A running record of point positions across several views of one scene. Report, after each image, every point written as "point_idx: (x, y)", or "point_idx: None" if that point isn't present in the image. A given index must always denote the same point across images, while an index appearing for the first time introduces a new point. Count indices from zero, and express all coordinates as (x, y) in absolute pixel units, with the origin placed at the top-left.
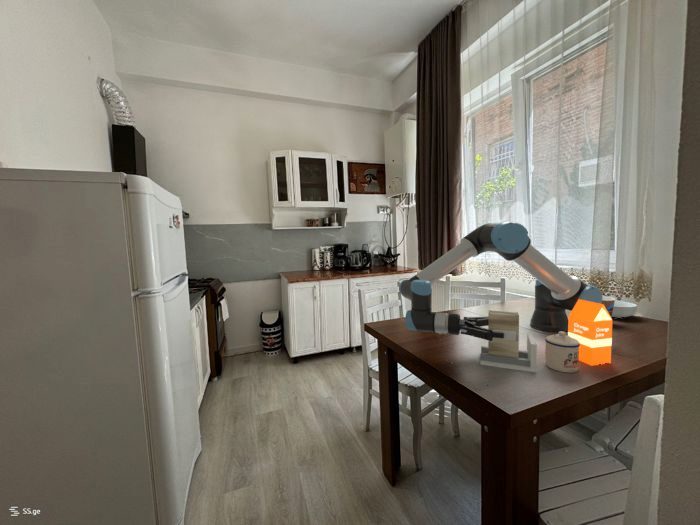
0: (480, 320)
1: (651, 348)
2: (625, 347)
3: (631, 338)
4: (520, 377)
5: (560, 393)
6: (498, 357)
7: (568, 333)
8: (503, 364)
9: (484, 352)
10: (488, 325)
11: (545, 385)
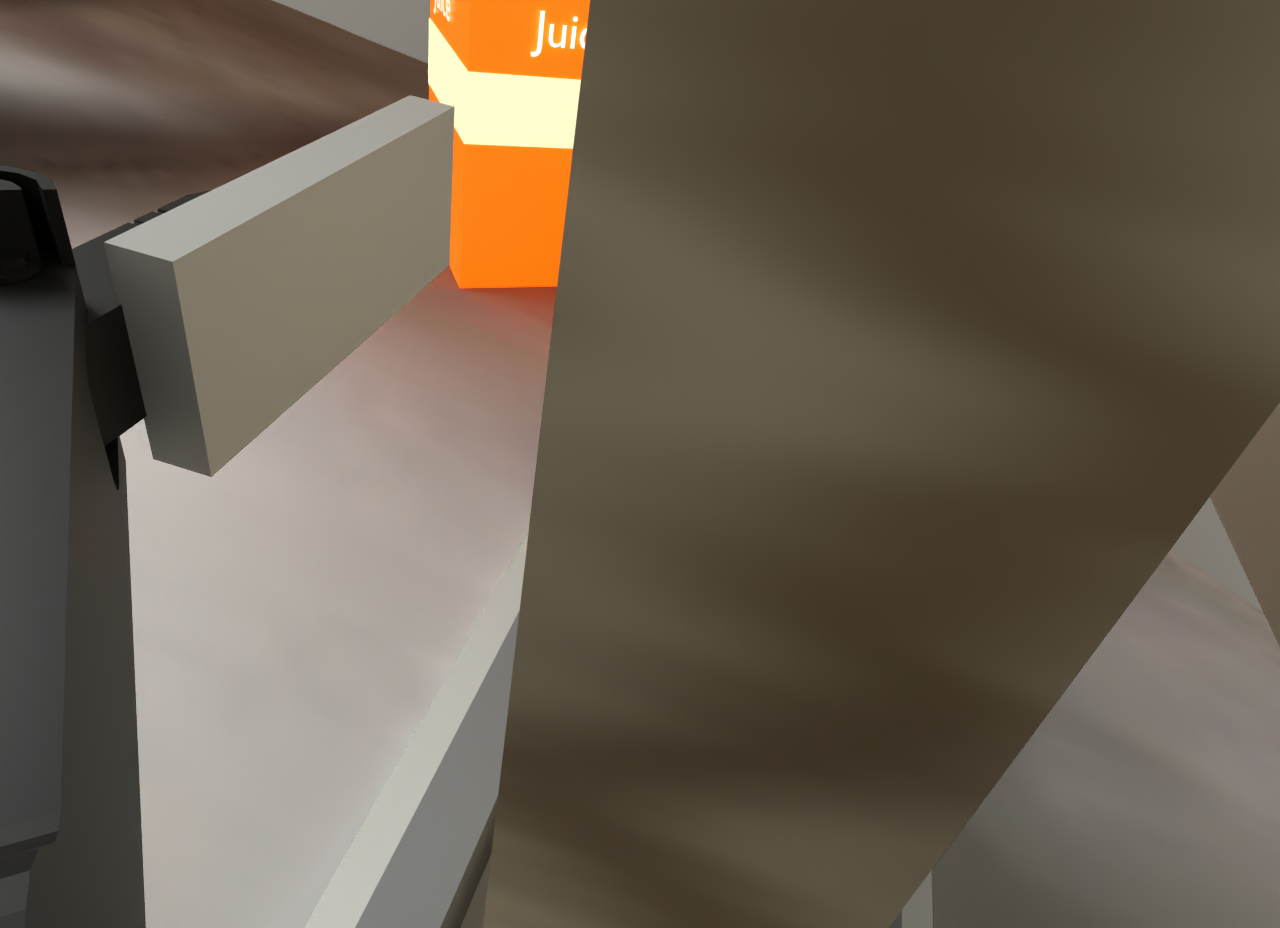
0: (64, 658)
1: (394, 61)
2: (362, 92)
3: (238, 31)
4: (1130, 827)
5: (1274, 635)
6: (897, 925)
7: (473, 88)
8: (912, 909)
9: None
10: (1107, 630)
11: (1185, 673)
